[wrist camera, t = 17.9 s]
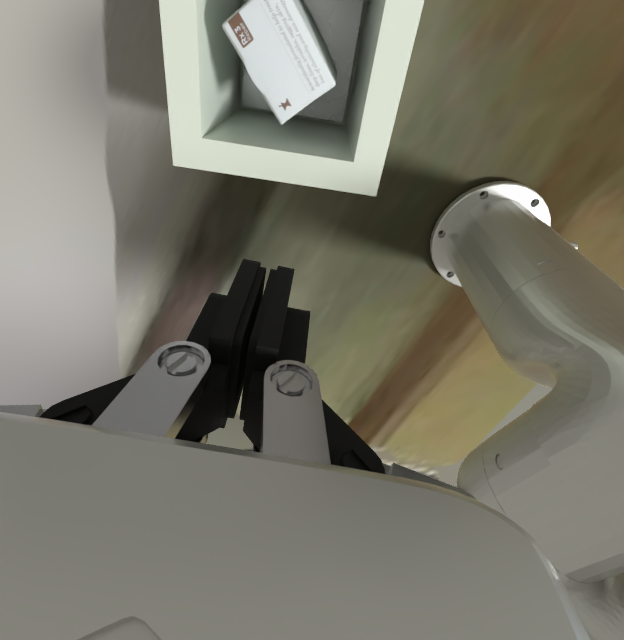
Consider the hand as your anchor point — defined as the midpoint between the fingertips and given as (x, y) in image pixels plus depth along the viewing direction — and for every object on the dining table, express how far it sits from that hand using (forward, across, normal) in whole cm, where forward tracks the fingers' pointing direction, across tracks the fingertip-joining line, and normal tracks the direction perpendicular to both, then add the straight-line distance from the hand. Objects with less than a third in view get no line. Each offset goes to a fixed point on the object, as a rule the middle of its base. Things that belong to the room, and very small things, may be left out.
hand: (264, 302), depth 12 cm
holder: (+30, +2, -6) cm, 30 cm away
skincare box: (+28, +2, -6) cm, 29 cm away
